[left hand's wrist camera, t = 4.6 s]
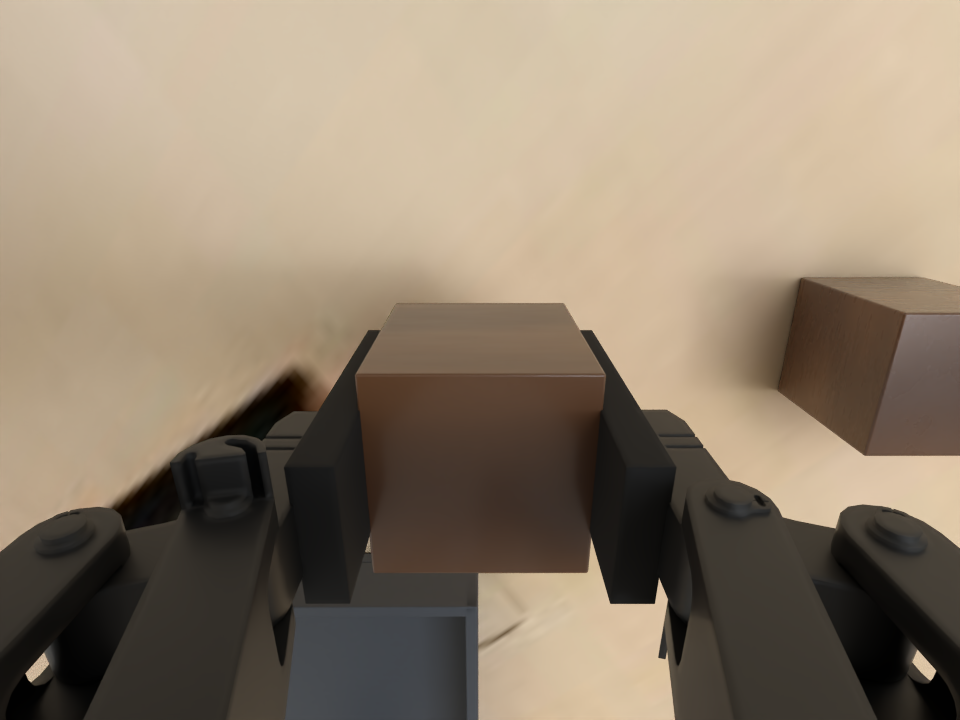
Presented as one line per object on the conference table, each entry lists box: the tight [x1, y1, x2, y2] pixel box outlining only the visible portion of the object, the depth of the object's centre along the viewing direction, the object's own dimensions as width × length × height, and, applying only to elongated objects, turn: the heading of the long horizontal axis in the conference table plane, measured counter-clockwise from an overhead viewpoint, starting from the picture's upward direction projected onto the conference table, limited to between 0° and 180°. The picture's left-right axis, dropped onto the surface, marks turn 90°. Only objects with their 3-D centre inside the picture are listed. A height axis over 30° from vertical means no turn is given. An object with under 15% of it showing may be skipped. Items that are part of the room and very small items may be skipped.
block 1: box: [355, 303, 606, 573], centre depth 13 cm, size 4×4×5 cm
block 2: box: [778, 278, 960, 456], centre depth 18 cm, size 4×4×5 cm
